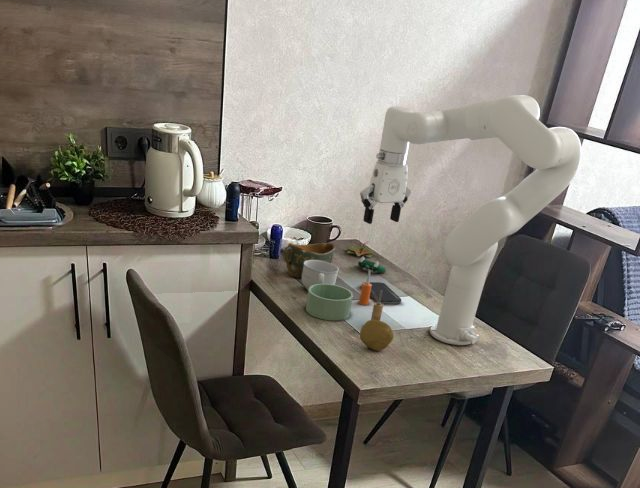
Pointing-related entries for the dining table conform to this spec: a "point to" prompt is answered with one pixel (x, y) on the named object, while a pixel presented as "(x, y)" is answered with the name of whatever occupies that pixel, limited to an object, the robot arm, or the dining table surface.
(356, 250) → the lily flower
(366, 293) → the screwdriver
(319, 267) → the teacup
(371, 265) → the green toy figure
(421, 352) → the dining table surface
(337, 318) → the crock
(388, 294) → the phone
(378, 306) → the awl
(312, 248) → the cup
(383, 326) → the potato
